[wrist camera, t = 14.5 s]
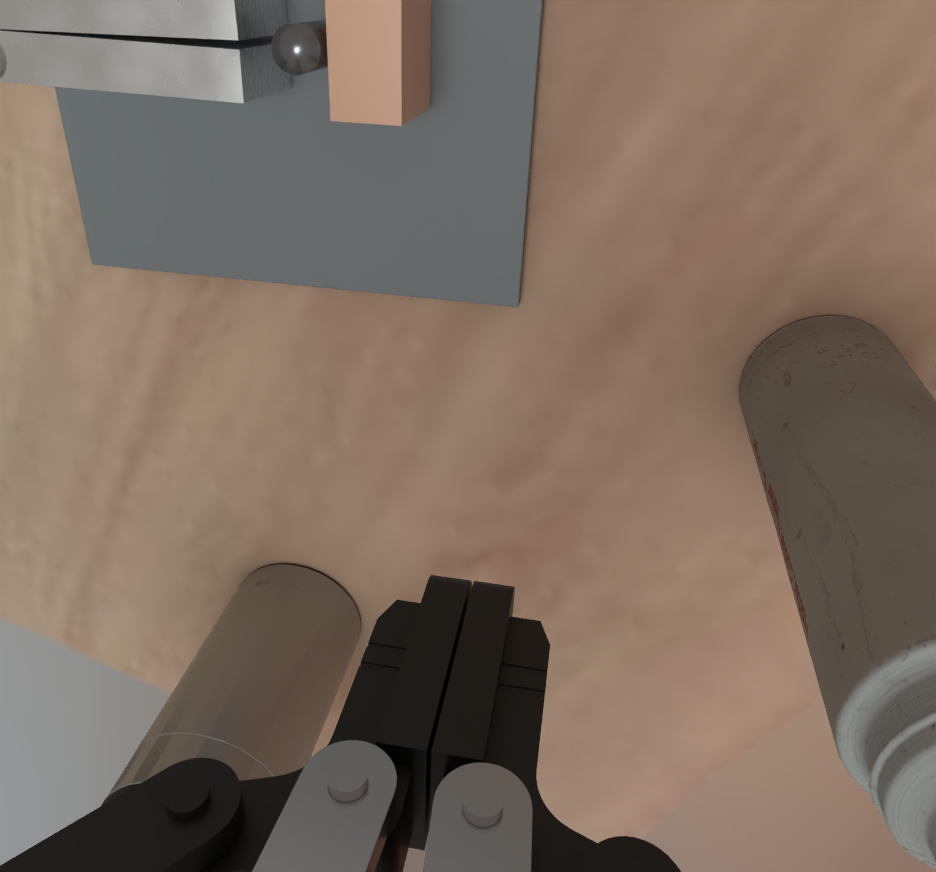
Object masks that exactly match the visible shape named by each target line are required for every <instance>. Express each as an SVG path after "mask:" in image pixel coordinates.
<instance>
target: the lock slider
mask: <svg viewBox="0 0 936 872" xmlns="http://www.w3.org/2000/svg"><path fill="white" fill-rule="evenodd" d="M431 4H432V0H325V12H326V33H327V55H328V77H329V98H330V120H331V121H338V122H352V123H366V124H379V125H393V126H403V125H404V124H406V123H407V122H409V121H410V120H412V119H413V118H415V117H416V116H418V115H419V114H421V113H422V112H424V111H425V110H427V109H428V108H430V72H431Z"/></svg>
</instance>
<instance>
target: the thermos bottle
mask: <svg viewBox="0 0 936 872" xmlns="http://www.w3.org/2000/svg"><path fill="white" fill-rule="evenodd" d="M739 395H740V404H741V408H742V412H743V415H744V419H745V423H746V426H747V430H748V433H749V437H750V440H751V444H752V448H753V451H754V455H755V458H756V462H757V465H758V469H759V473H760V476H761V480H762V483H763V487H764V490H765V494H766V497H767V501H768V504H769V508H770V511H771V514H772V517H773V520H774V524H775V527H776V530H777V534H778V538H779V541H780V545H781V549H782V553H783V557H784V561H785V565H786V569H787V572H788V576H789V580H790V583H791V587H792V590H793V594H794V597H795V601H796V605H797V608H798V612H799V615H800V619H801V622H802V626H803V630H804V633H805V637H806V640H807V644H808V647H809V651H810V655H811V658H812V662H813V665H814V669H815V672H816V676H817V680H818V683H819V687H820V690H821V694H822V697H823V701H824V705H825V708H826V711H827V715H828V719H829V722H830V726H831V729H832V733H833V737H834V740H835V744H836V747H837V751H838V754H839V757H840V759H841V761H842V763H843V764H844V766H845V768H846V769H847V771H848V773H849V774H850V776H851V777H852V778H853V779H854V780H855V781H856V782H857V783H858V784H859V785H860V786H861V787H862V788H863V789H864V790H865V791H866V792H867V793H869V794H870V795H871V796H872V800H873V803H874V804H875V806H876V808H877V809H878V811H879V813H880V814H881V816H882V817H883V818H884V819H885V822H886V824H887V826H888V828H889V830H890V831H891V833H892V835H893V836H894V838H895V840H896V841H897V842H898V843H899V844H900V845H901V846H902V847H903V848H904V849H905V850H906V851H907V852H908V853H909V854H910V855H912V856H913V857H915V858H917V859H918V860H920V861H921V862H923V863H924V864H926V865H927V866H930V867H932V868H934V869H936V401H935V400H934V398H933V397H932V395H931V394H930V393H929V391H928V390H927V389H926V387H925V386H924V385H923V383H922V382H921V381H920V379H919V378H918V377H917V375H916V374H915V373H914V371H913V370H912V369H911V367H910V366H909V365H908V363H907V362H906V361H905V359H904V358H903V357H902V355H901V354H900V353H899V351H898V350H897V348H896V347H895V346H894V345H893V343H892V342H891V341H890V340H889V338H888V337H887V336H886V335H885V334H883V333H882V332H881V331H880V330H878V329H877V328H876V327H874V326H872V325H870V324H868V323H866V322H864V321H862V320H858V319H854V318H850V317H846V316H831V315H828V316H819V317H811V318H808V319H804V320H801V321H797V322H795V323H792V324H790V325H788V326H786V327H784V328H782V329H780V330H779V331H777V332H776V333H774V334H773V335H771V336H770V337H768V338H767V339H766V340H765V341H764V342H763V343H762V344H761V345H760V346H759V347H758V348H757V349H756V350H755V352H754V353H753V355H752V356H751V358H750V359H749V360H748V362H747V364H746V367H745V369H744V371H743V373H742V377H741V382H740V387H739Z"/></svg>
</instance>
